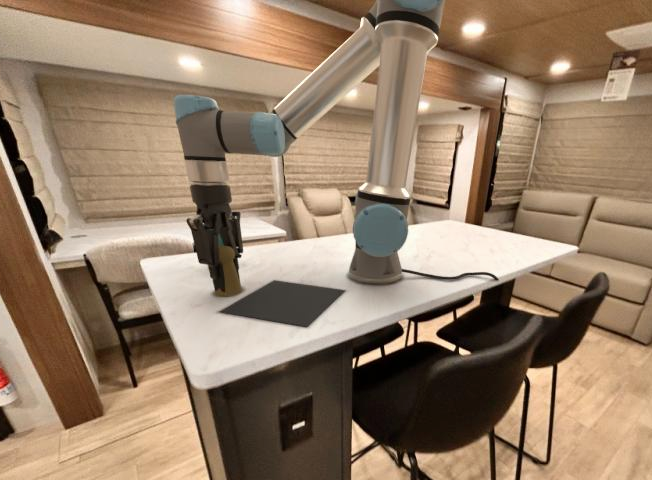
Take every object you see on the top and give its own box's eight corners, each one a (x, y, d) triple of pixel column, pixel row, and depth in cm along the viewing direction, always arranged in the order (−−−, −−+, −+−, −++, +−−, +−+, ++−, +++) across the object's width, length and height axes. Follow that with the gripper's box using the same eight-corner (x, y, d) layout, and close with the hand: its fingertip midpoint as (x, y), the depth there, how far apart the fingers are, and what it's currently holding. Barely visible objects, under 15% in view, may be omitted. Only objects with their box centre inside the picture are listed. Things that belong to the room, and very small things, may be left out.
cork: (224, 298, 71) (216, 251, 66) (209, 292, 74) (200, 246, 69) (247, 290, 75) (241, 246, 71) (232, 285, 78) (225, 242, 74)
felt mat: (344, 290, 78) (344, 290, 78) (306, 327, 60) (306, 326, 60) (274, 281, 82) (274, 280, 82) (219, 312, 64) (219, 311, 64)
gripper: (223, 181, 73) (238, 274, 83) (158, 184, 58) (185, 298, 67) (251, 182, 71) (263, 277, 81) (191, 186, 56) (214, 303, 66)
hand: (228, 287), depth 74 cm, fingers closed on cork, 4 cm apart
